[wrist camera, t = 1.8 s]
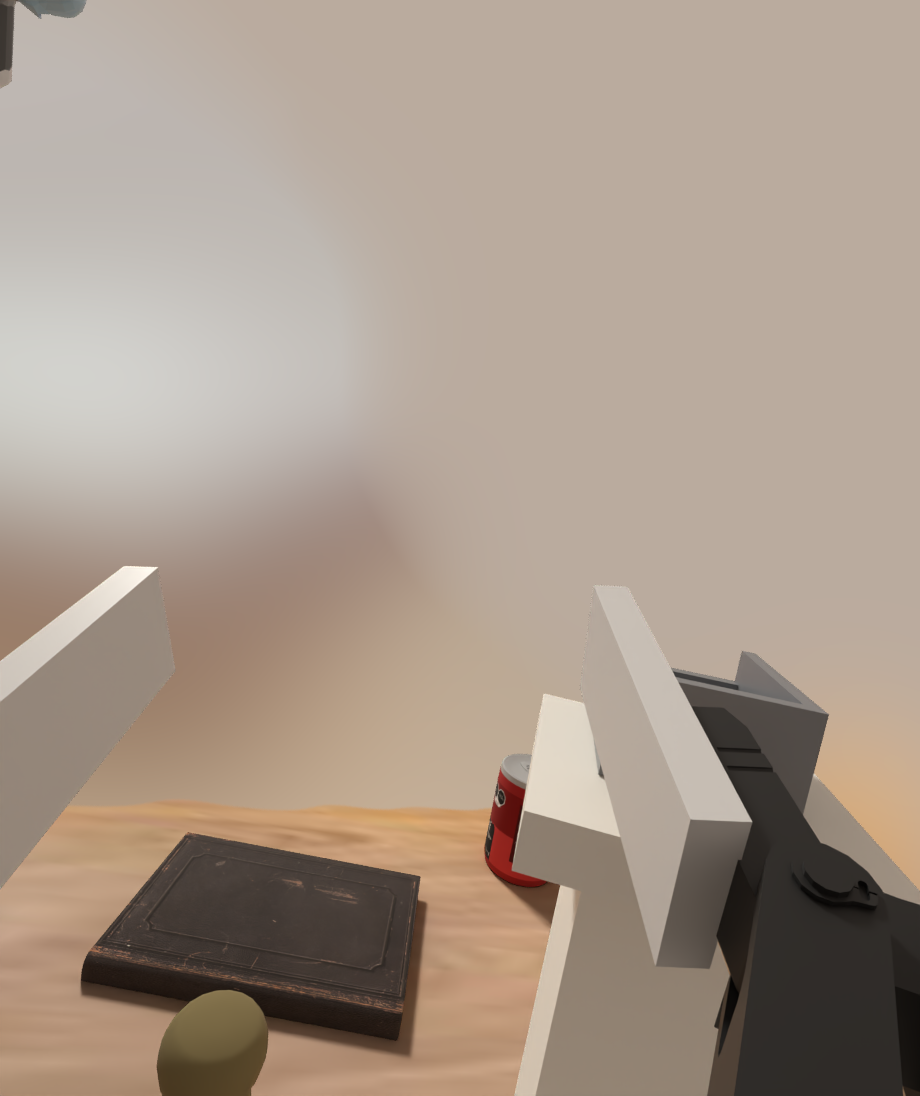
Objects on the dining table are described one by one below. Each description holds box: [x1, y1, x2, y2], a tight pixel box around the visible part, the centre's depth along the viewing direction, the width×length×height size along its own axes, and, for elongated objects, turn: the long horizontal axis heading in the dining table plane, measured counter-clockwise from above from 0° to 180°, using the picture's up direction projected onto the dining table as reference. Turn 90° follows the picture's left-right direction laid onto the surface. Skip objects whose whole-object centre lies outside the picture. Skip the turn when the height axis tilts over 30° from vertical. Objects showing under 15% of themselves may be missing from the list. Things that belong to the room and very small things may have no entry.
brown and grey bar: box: [594, 651, 905, 1096], centre depth 18 cm, size 22×7×4 cm, turn 171°
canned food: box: [484, 754, 547, 887], centre depth 66 cm, size 8×8×11 cm
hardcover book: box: [81, 832, 420, 1040], centre depth 51 cm, size 16×23×2 cm
